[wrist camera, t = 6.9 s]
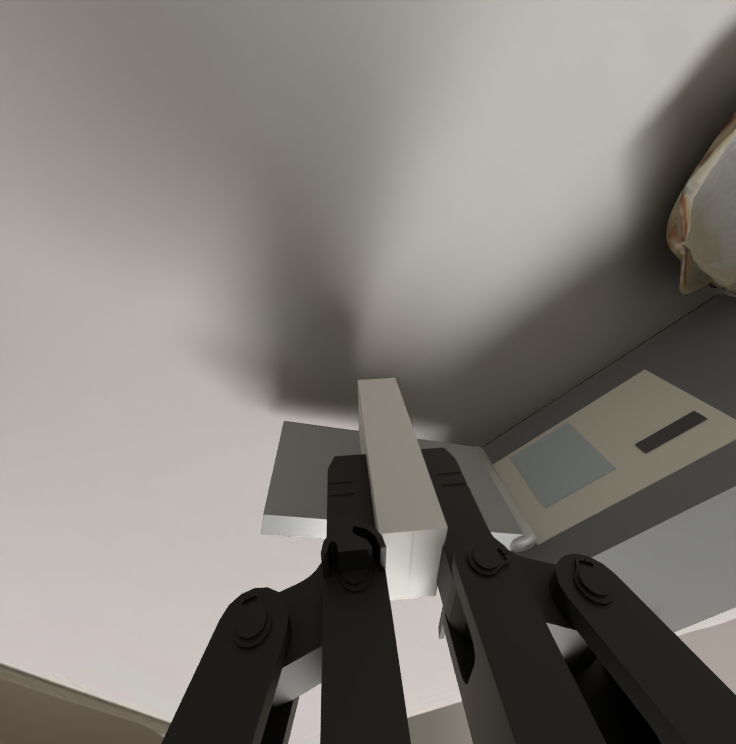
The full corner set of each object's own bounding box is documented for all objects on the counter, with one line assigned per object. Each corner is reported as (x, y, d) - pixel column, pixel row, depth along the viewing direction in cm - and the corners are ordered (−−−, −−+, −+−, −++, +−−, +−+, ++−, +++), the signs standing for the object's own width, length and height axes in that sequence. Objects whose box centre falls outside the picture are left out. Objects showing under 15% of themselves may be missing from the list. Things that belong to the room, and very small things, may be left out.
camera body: (439, 472, 19) (498, 625, 12) (765, 260, 14) (1147, 316, 8) (517, 543, 23) (593, 686, 16) (787, 397, 19) (1045, 510, 12)
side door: (476, 469, 18) (523, 559, 13) (279, 445, 15) (259, 543, 11) (487, 447, 17) (542, 535, 12) (284, 419, 15) (263, 513, 10)
